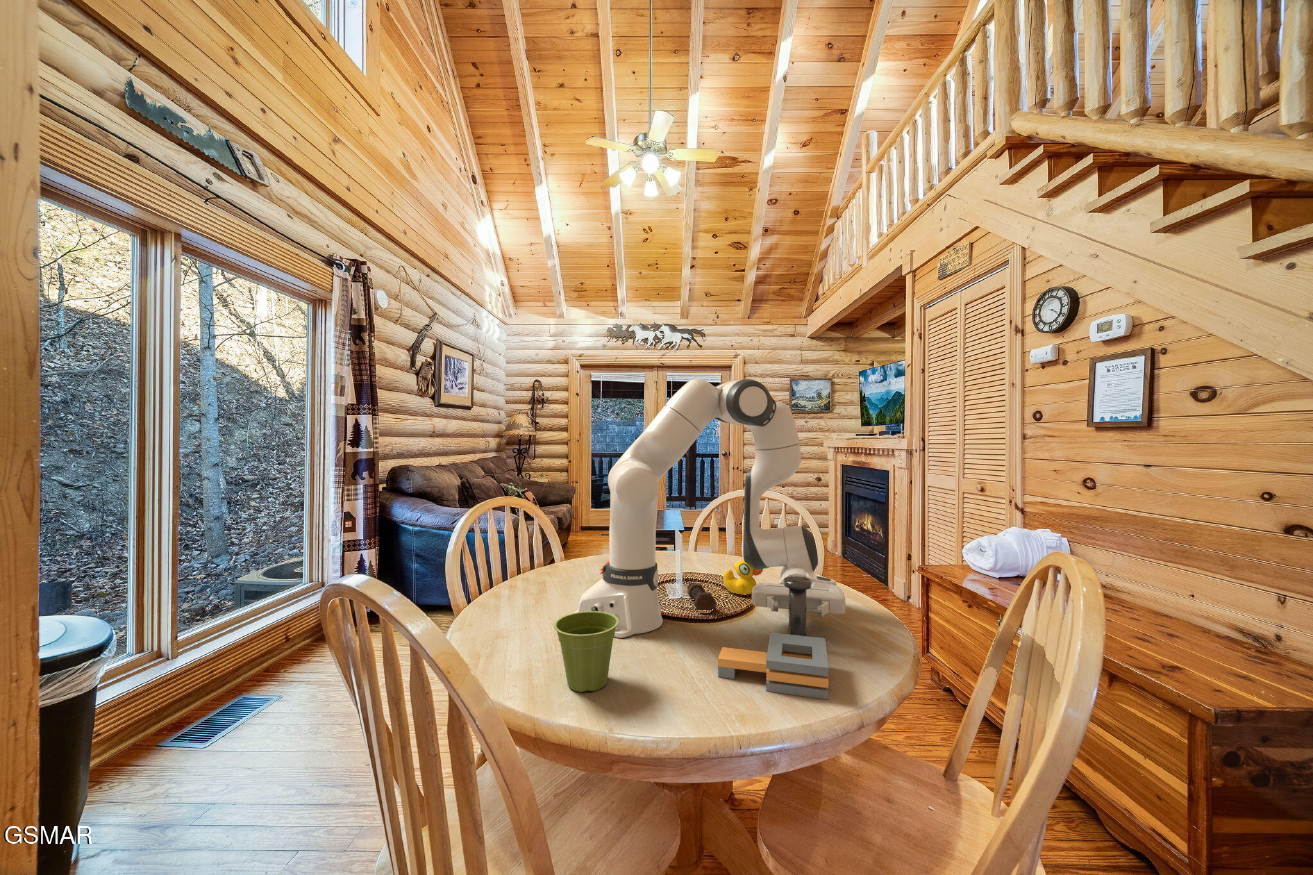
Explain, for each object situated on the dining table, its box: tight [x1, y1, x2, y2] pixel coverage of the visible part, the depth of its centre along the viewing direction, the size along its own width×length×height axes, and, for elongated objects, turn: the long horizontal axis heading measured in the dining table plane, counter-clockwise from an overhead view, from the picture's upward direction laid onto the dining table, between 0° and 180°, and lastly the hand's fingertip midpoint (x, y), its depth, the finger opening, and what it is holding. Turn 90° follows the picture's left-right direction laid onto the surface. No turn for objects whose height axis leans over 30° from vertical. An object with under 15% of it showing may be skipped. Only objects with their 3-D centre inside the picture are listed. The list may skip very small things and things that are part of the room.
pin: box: [784, 576, 811, 636], centre depth 106 cm, size 6×6×14 cm
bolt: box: [686, 582, 717, 611], centre depth 133 cm, size 6×5×15 cm
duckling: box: [722, 559, 764, 595], centre depth 139 cm, size 11×5×10 cm, turn 61°
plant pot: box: [553, 611, 619, 693], centre depth 92 cm, size 12×12×11 cm
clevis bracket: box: [717, 632, 829, 701], centre depth 94 cm, size 19×12×6 cm, turn 74°
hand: (797, 610), depth 106 cm, fingers open, 8 cm apart
